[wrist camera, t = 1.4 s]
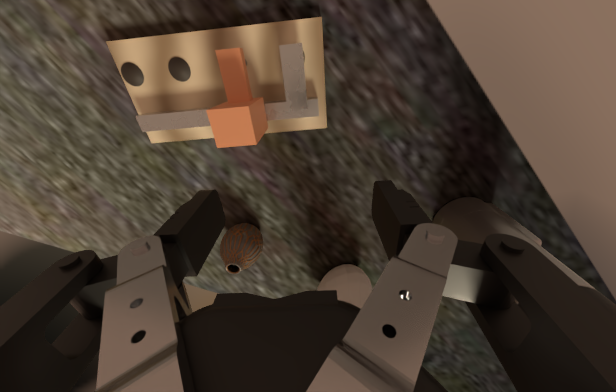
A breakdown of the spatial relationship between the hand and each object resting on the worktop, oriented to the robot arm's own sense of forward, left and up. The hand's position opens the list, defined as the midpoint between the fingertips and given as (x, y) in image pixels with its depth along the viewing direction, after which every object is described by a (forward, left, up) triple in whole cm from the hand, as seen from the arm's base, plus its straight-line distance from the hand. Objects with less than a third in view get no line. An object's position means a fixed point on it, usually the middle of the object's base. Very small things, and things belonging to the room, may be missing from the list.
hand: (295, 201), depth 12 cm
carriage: (+7, -4, -21) cm, 22 cm away
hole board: (+10, -5, -22) cm, 25 cm away
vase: (+13, +19, -23) cm, 32 cm away
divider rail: (+10, -4, -21) cm, 24 cm away
